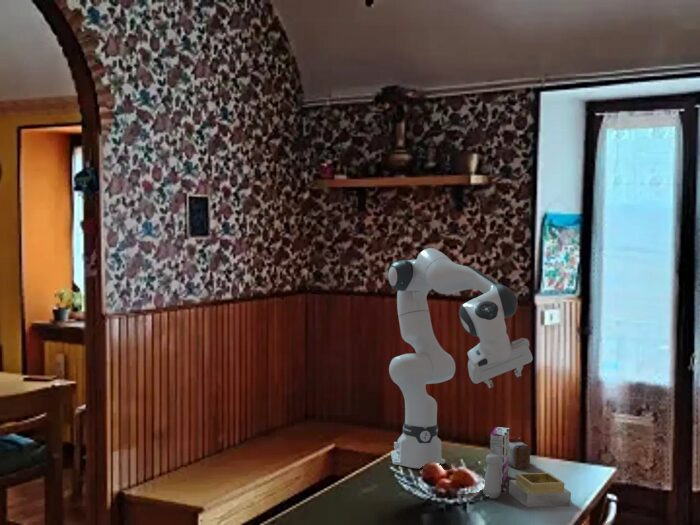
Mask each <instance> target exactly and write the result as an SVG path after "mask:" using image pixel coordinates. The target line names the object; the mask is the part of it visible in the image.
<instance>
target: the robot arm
mask: <svg viewBox="0 0 700 525" xmlns="http://www.w3.org/2000/svg"><path fill="white" fill-rule="evenodd" d="M387 279H388V283H389V286H390V287H391V289H393V290H394V291H397V292H396V295H397V296H396V305H397V306H396V308H397V309H396V310H397V315H398V322H399V329H400V335H401V337H402V340H404V342H405V343H407V344H409V345H410V346H412V348H413V349H414V351H415V353H404V354H401V355H398V356H395V357H393V358H392V359H391V361H390V364H389V365H388V366H389V367H388V371H389V372H388V373H389V377H390V378H391V380H392V382H393V383H395V385H397V386H398V388H399V390H400V391H401V393H402V395H403V399H404V408H405V409H404V423H403V426H402V434H401V435H400V436H399V437H398V439H397V441H394V442H393V448H394V449H395V450H391V451H390V456H391V460H392V464H393V465H394V466H395V465H396V466H403V467H405V468H412V469H420V468H421V467H422V466H424V465H425V464H427V463H429V462H437V463H441V465H444V464H446V459H444V458H442V440H441V439H440V438H439V437H438V432H439V426H438V423H437V418H438V416H437V415H438V402H437V401H436V399H435V398H434V397H432V396H431V395H430V394H428V392H427V389H426V386H427V385H429V384H430V385H432V384H440V383H443V382H446V381H449V380H451V379H453V377H454V376H455V373H456V362H455V360H454V358H453V357H452V355H451V354H449V353H448V352H447V351H445V350H444V349H443V347H442V346H441V344H440V343H439V341H438V340H437V337H436V336H435V333H434V330H433V325H432V321H431V314H430V309H429V304H428V300H427V296H428V294H429V292H430V293H431V294H433V295H434V294H435V293H439V294H442V295H451V294H456V293H458V292H463V291H467V290H477V291H479V292H480V293H482V294H480V295H479V296H477V297H474V298H472V299H470V300H468V301H466V302H464V303H463V304H461V305H460V307H459V310H458V318H459V321H460V324H461V326H462V329H463V330H465V332H466V333H468V334H470V335H471V336H473V337H478V338H479V343H477V345H475V346H474V347H473V348H471V349H470V350H468V351H467V353H466V354H467V356H468V362H467V371H468V374H469V378H470V380H471V381H472V383H473V384H475V385H476V384H479V383H482V382H483V383H485V384H486V385H487V387H488V389H490V388H491V389H492V388H494V383H493V381H492V379H491V378H494V377H497V376H500V375H502V374H505V373H507V372H510V371H512V370H514V371H513V372H514V375H515V376H516V378H518V377H521V376H522V371H523V368H524V366H525V365H527V364H530V363H532V361H533V360H534V358H533V354H532V352H531V350H530V340H529V339H528V338H527V337H526V338H524V337H521V338H518V339H516V340H513V341H510V338H509V335H508V333H507V325H506V321H505V319H508V318H510V317H512V316H514V315H515V313H516V311H517V309H518V305H519V302H518V298H517V296H516V294H515V293H514V291H513V290H512V289H510V288H509V287H507V286H505V285H503V284H501V283H498V282H497V281H495V280H494V279H492V278H491V277H489V276H488V275H486V274H485V273H483V272H481V271H480V270H478V269H476V268H475V267H473V266H470V265H469V266H468V265H462V264H459V263H456V262H454V261H452V260H451V258H449V256H447V255H446V254H444V253H443V252H441V251H440V250H438V249H436V248H433V247H428V248H425V249H423V250H422V251H420V252H419V253H418V255H417V257H416V259H408V260H407V259H406V260H397V261H394V262H393V263H392V264H391V265H390V266H389V268H388V270H387Z"/></svg>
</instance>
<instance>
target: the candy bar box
mask: <svg viewBox="0 0 700 525" xmlns="http://www.w3.org/2000/svg"><path fill="white" fill-rule="evenodd" d="M491 431H492V432H490V436H489V454H496V455H498V456H499V457H500V462H499V463H498V470H499V478H500V485H502V484H503V485H504V484H505V482H506V480H507V478H508V476H509V464H508V458H509V437H510V427H501V426H495V428H494V429H493V430H491Z"/></svg>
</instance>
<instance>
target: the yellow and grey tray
mask: <svg viewBox="0 0 700 525" xmlns="http://www.w3.org/2000/svg"><path fill="white" fill-rule="evenodd" d="M508 484H509V485H508V493H509V494H510V495H511V496H512V497H513V498H514V499H516V500H517V501H519V502H520V503H521V504H523V505H524V506H525V507H527V508H544V507H546V508H547V507H565V506H566V507H569V506H571V501H572V500H571V498H572V493H571V491H570V490H568V489H566V488H565V482H563V481H562V480H560V478H557V477H556V476H555V475H553V474H551V473H550V472H526V473H516V474H515V479H509V483H508Z"/></svg>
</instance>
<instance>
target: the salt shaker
mask: <svg viewBox="0 0 700 525" xmlns="http://www.w3.org/2000/svg"><path fill="white" fill-rule="evenodd" d="M485 462H486V463H487V465H486V469H485V475H484V478H483V481H484V480H485V488H484V491H483V490H482V492H483V495H484V494H485V495H489V498H488V499H493V500H495V499H498V498H499V496H500V494H501V492H502V486H501V485H502V484H500V478H499V470H498V463H499V462H500V457H499V456H498V455H496V454H490V453H489V454H487V455H486V457H485Z"/></svg>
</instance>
